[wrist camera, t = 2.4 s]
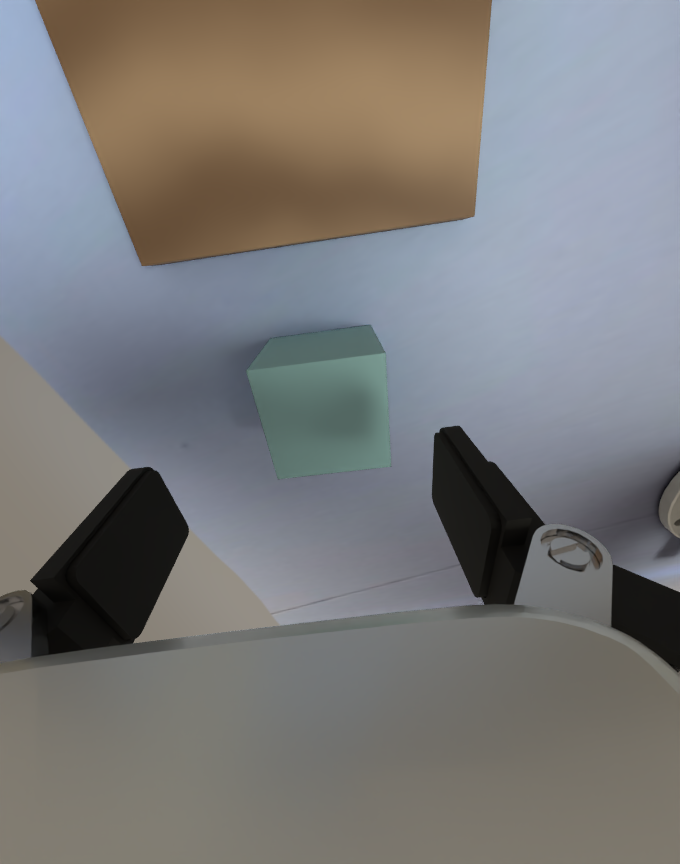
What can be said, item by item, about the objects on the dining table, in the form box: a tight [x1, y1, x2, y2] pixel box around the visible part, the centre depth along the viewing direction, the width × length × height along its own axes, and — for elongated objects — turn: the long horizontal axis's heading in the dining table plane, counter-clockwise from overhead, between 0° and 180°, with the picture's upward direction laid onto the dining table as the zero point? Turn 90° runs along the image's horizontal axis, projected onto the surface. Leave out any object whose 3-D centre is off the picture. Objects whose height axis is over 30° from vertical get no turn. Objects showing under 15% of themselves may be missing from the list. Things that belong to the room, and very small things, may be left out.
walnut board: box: [35, 0, 492, 266], centre depth 11 cm, size 15×16×2 cm
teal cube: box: [246, 325, 391, 479], centre depth 17 cm, size 6×6×6 cm
